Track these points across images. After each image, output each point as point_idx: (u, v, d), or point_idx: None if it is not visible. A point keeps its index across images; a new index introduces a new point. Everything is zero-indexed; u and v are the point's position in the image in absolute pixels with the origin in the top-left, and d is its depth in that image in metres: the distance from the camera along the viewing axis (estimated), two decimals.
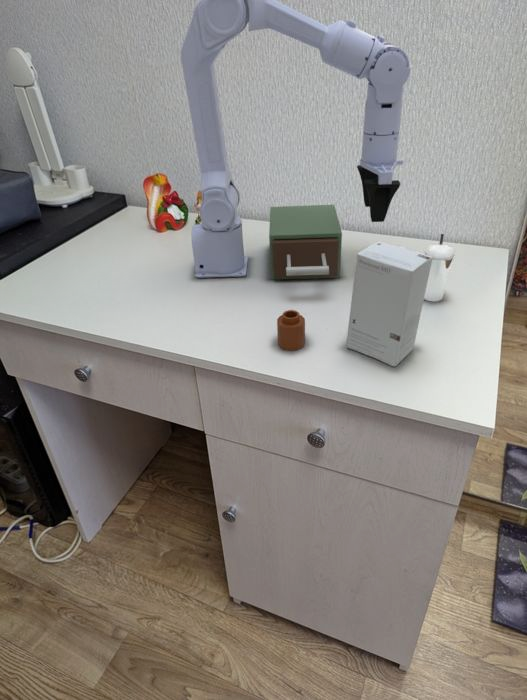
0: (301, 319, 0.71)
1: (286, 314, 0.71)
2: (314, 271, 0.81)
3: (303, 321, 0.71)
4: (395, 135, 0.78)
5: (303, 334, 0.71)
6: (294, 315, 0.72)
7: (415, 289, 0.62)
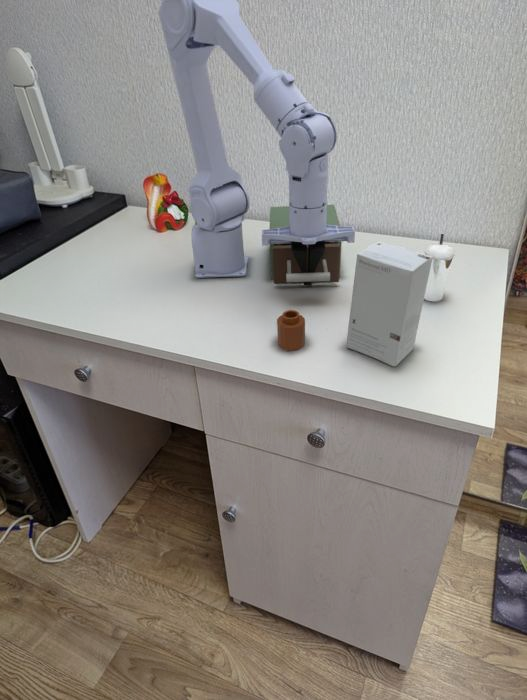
0: (301, 319, 0.71)
1: (286, 314, 0.71)
2: (315, 277, 0.79)
3: (303, 321, 0.71)
4: (294, 208, 0.73)
5: (303, 334, 0.71)
6: (294, 315, 0.72)
7: (415, 289, 0.62)
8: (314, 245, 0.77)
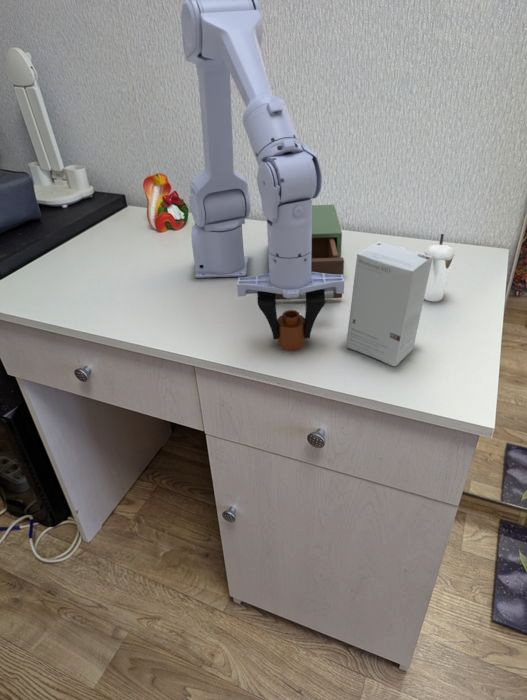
0: (301, 319, 0.71)
1: (286, 314, 0.71)
2: None
3: (303, 321, 0.71)
4: (274, 257, 0.63)
5: (303, 334, 0.71)
6: (294, 315, 0.72)
7: (415, 289, 0.62)
8: (312, 296, 0.67)
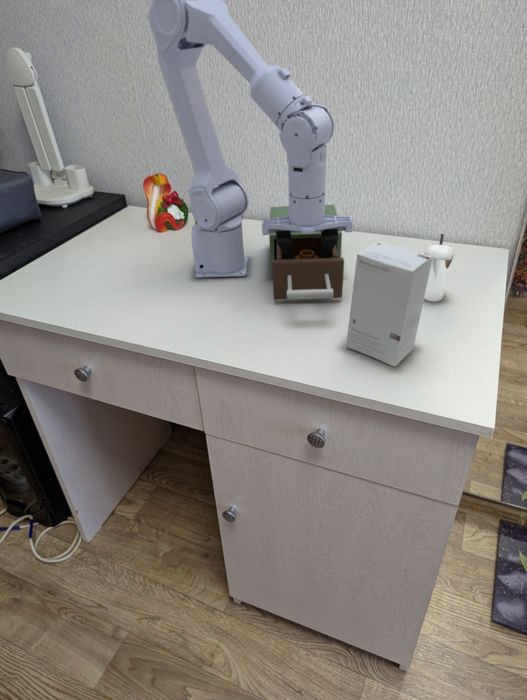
0: (315, 257, 0.83)
1: (303, 253, 0.83)
2: (317, 294, 0.74)
3: None
4: (294, 198, 0.76)
5: None
6: (309, 254, 0.84)
7: (415, 289, 0.62)
8: (327, 234, 0.80)
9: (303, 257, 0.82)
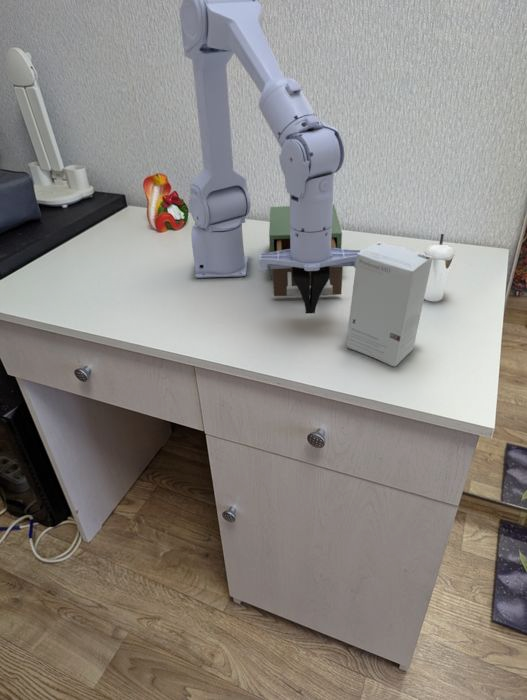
0: None
1: None
2: None
3: None
4: (296, 231, 0.66)
5: None
6: None
7: (415, 289, 0.62)
8: (317, 271, 0.70)
9: None
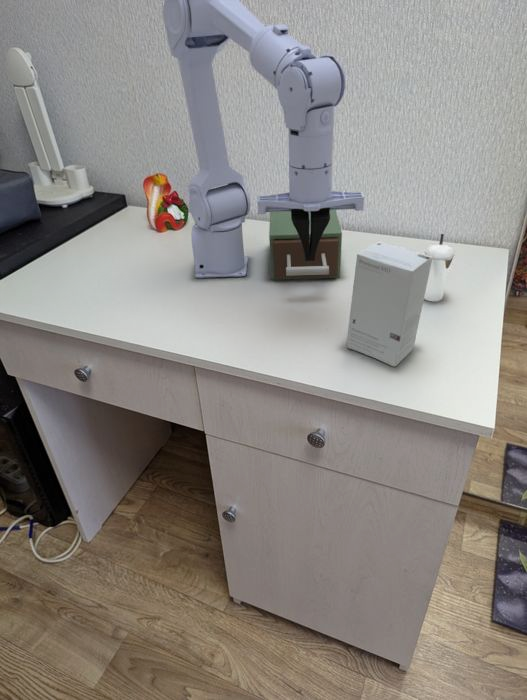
0: None
1: None
2: (314, 271, 0.81)
3: None
4: (295, 169, 0.64)
5: None
6: None
7: (415, 289, 0.62)
8: (317, 213, 0.68)
9: None
